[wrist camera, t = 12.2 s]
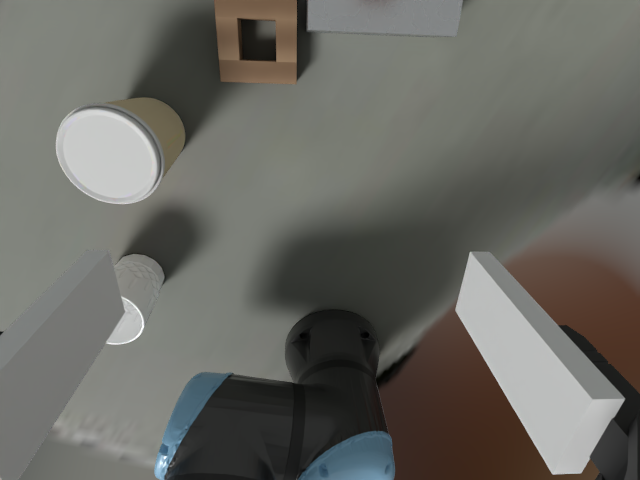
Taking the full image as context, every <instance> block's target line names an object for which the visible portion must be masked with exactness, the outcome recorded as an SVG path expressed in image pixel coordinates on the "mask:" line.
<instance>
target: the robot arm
mask: <svg viewBox="0 0 640 480" xmlns="http://www.w3.org/2000/svg"><path fill="white" fill-rule="evenodd" d="M456 312H457V314H458V316H459V317H460V319H461V321H462V322H463V324H464V326H465V327H466V329H467V331H468V333H469V334H470V336H471V337H472V339H473V341H474V343H475V344H476V346H477V348H478V349H479V351H480V353H481V354H482V356H483V358H484V359H485V361H486V363H487V365H488V366H489V368H490V370H491V371H492V373H493V375H494V376H495V378H496V380H497V382H498V383H499V385H500V387H501V388H502V390H503V391H504V393H505V395H506V397H507V398H508V400H509V402H510V403H511V405H512V407H513V408H514V410H515V412H516V413H517V415H518V417H519V419H520V420H521V422H522V424H523V425H524V427H525V429H526V430H527V432H528V434H529V436H530V437H531V439H532V440H533V442H534V444H535V446H536V447H537V449H538V451H539V452H540V454H541V456H542V457H543V459H544V461H545V462H546V464H547V466H548V468H549V469H550V471H551V473H552V474H573V473H574V474H576V473H582V471H583V469H584V468H585V466H586V464H587V463H588V461H589V459H590V458H591V460H592V461H593V463H594V464H595V465H596V467H597V468H598V470H599V471H600V473H599V474H598V476H597V478H596V479H595V480H640V394H639V393H638V392H637V391H636V389H635V388H634V387H633V386H632V385H631V384H629V382H628V381H627V380H626V379H625V378H624V377H623V376H622V375H621V374H620V373H619V372H618V371H617V370H616V369H615V368H614V367H613V366H612V365H611V364H608V361H607V360H606V359H605V358H604V357H603V356H602V355H601V354H600V353H598V352H597V350H596V348H594V347H593V345H592V344H590V343H589V341H588V340H587V339H586V338H585V337H584V336H582V335H580V334H579V333H577V332H576V331H574V330H573V329H571V328H570V327H568V326H567V325H564V326H562V325H561V326H560V325H557V324H556V323H555V322H554V321H553V320H552V319H551V318H550V316H549V315H548V314H547V313H546V312H545V311H544V310H543V309H542V308H541V307H540V306H539V305H538V304H537V302H536V301H535V300H534V299H533V298H532V297H531V296H530V295H529V294H528V293H527V292H526V290H525V289H524V288H523V287H522V286H521V285H520V284H519V283H518V282H517V281H516V280H515V279H514V277H513V276H512V275H511V274H510V273H509V272H508V271H507V270H506V269H505V268H504V267H503V265H502V264H501V263H500V262H499V261H498V260H497V259H496V258H495V257H494V256H493V255H492V254H491V252H470V254H469V258H468V262H467V266H466V270H465V274H464V278H463V282H462V286H461V290H460V294H459V298H458V302H457V306H456ZM124 313H125V309H124V305H123V302H122V298H121V294H120V290H119V286H118V282H117V278H116V274H115V270H114V266H113V262H112V258H111V255H110V251H109V250H86V251H85V252H84V253H83V254H82V255H81V256H80V257H79V258H78V259H77V260H76V261H75V262H74V263H73V264H72V265H71V266H70V267H69V268H68V269H67V270H66V271H65V272H64V273H63V274H62V275H61V276H60V277H59V278H58V279H57V280H56V281H55V282H54V283H53V284H52V285H51V286H50V287H49V288H48V289H47V290H46V291H45V292H44V293H43V294H42V295H41V296H40V297H39V298H38V299H37V300H36V301H35V302H34V303H33V304H32V305H31V306H30V307H29V308H28V309H27V310H26V311H25V312H24V313H23V314H22V315H21V316H20V317H19V318H18V319H17V320H15V321H14V322H13V323H12V324H11V325H10V326H9V327H8V328H7V329H6V330H5V331H4V332H0V480H19V478H20V477H21V475H22V474H23V472H24V470H25V469H26V467H27V466H28V464H29V462H30V461H31V459H32V458H33V456H34V454H35V453H36V451H37V450H38V448H39V447H40V445H41V444H42V442H43V441H44V439H45V437H46V436H47V434H48V433H49V431H50V430H51V428H52V426H53V425H54V423H55V422H56V420H57V419H58V417H59V415H60V414H61V412H62V411H63V409H64V408H65V406H66V404H67V403H68V401H69V400H70V398H71V397H72V395H73V394H74V392H75V390H76V389H77V387H78V386H79V384H80V383H81V381H82V379H83V378H84V376H85V375H86V373H87V372H88V370H89V368H90V367H91V365H92V364H93V362H94V361H95V359H96V357H97V356H98V354H99V353H100V351H101V350H102V348H103V346H104V345H105V343H106V342H107V340H108V339H109V337H110V335H111V334H112V332H113V331H114V329H115V328H116V326H117V324H118V323H119V321H120V320H121V318H122V317H123V315H124ZM379 355H380V349H379V343H378V339H377V336H376V333H375V331H374V329H373V327H372V326H371V325H370V323H369V322H367V321H366V320H365V319H364V318H362V317H361V316H359V315H357V314H354V313H351V312H348V311H342V310H327V311H321V312H317V313H314V314H312V315H309V316H307V317H305V318H304V319H302V320H301V321H299V322H298V323H297V324H296V325H295V326H294V327H293V328H292V330H291V331H290V333H289V334H288V337H287V339H286V344H285V360H286V365H287V367H288V370H289V372H290V375H291V377H292V380H293V382H294V383H292V382H284V381H277V380H269V379H262V378H256V377H249V376H242V375H235V374H233V373H226V374H221V373H210V372H203V373H199V374H197V375H195V376H194V377H193V378H192V379H191V380H190V381H189V382H188V383H187V385H186V386H185V388H184V390H183V391H182V393H181V395H180V397H179V399H178V401H177V403H176V406H175V408H174V410H173V412H172V415H171V417H170V420H169V422H168V425H167V428H166V430H165V433H164V436H163V439H162V445H161V447H160V450H159V453H158V455H157V459H156V463H155V475H156V477H157V478H158V479H160V480H393V479H394V474H395V465H394V458H393V453H392V440H391V437H390V436H389V433H388V429H387V425H386V420H385V416H384V412H383V408H382V404H381V400H380V395H379V391H378V388H377V383H376V374H377V368H378V362H379Z"/></svg>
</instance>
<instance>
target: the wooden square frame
mask: <svg viewBox="0 0 640 480" xmlns="http://www.w3.org/2000/svg"><path fill="white" fill-rule="evenodd" d="M214 5H215V18H216V30H217V43H218V55H219V68H220V80H221V82H246V83H276V84H296V82H297V0H214ZM241 20H264V21H276V60H249V59H243V48H242V29H241Z"/></svg>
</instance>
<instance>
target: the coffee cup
mask: <svg viewBox="0 0 640 480" xmlns="http://www.w3.org/2000/svg"><path fill="white" fill-rule="evenodd" d="M184 143H185V129H184V126H183V123H182V121H181V119H180V117H179V116H178V114H177V113H176V112H175V111H174V110H173V109H172V108H171V107H170V106H169V105H167V104H165V103H164V102H162V101H160V100H157V99H153V98H146V97H142V98H133V99H126V100H119V101H113V102H106V103H93V104H87V105H84V106H81V107H79V108H76V109H75V110H73V111H72V112H70V113H69V114H68V115H67V116H66V117H65V118H64V120H63V121H62V123H61V125H60V127H59V129H58V133H57V138H56V153H57V157H58V160H59V163H60V165H61V168H62V169H63V171H64V173H65V174H66V176H67V177H68V178H69V180H70V181H71V182H72V183H73V184H74V185H75V186H76V187H77V188H78V189H80V190H81V191H82V192H84V193H85V194H87V195H89V196H91V197H93V198H95V199H97V200H100V201H103V202H107V203H114V204H130V203H135V202H138V201H140V200H143V199H145V198H146V197H148V196H149V195H151V194H152V193H153V192H154V191H155V190H156V188H157V187H158V186H159V184H160V182H161V180H162V178H163V177H164V176H165V174H166V173H167V171H168V170H169V169H170V167H171V166H172V164H173V163H174V162H175V160H176V159H177V157H178V156H179V154H180V153H181V151H182V149H183V147H184Z"/></svg>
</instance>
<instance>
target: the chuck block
mask: <svg viewBox="0 0 640 480" xmlns="http://www.w3.org/2000/svg"><path fill="white" fill-rule="evenodd" d="M462 3H463V0H307V5H306V32H320V33H344V34H368V35H392V36H416V37H452V36H457V31H458V25H459V20H460V14H461V9H462Z"/></svg>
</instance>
